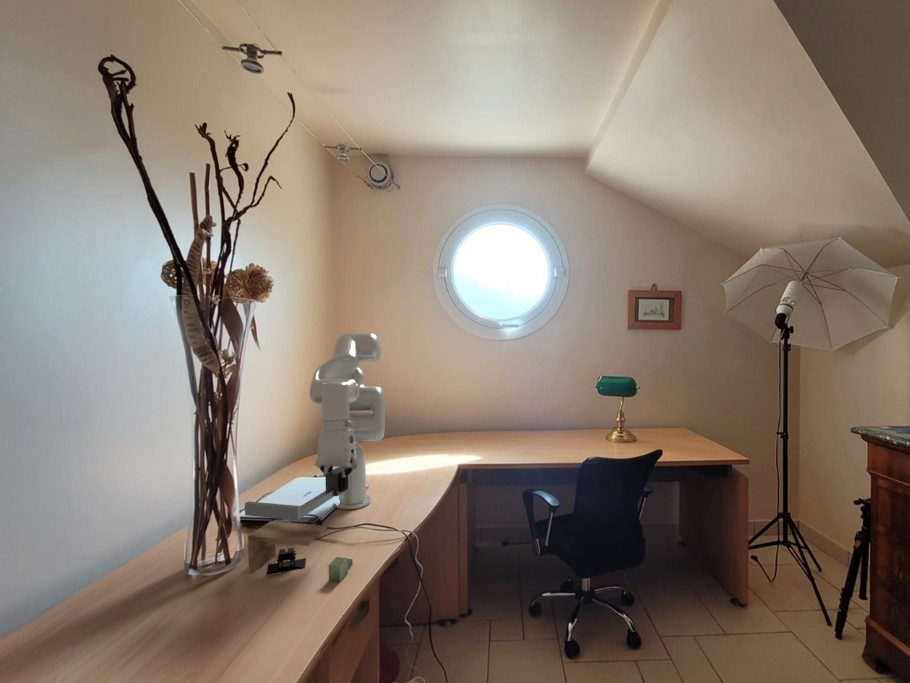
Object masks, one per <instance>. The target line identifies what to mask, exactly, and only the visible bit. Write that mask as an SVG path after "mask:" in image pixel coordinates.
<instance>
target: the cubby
mask: <svg viewBox="0 0 910 683" xmlns="http://www.w3.org/2000/svg"><path fill="white" fill-rule="evenodd" d="M327 530H328V525H320V524H309V523H298V522H289V521H277V520H270V521H269V522H267V523H265V524H264V525H262V526H261V527H259V528H258V529H256V530H255V531H253V532H251V533H250V534H248V535H247V546H248V548H247V549H248V550H247V551H248V574H255V573H256V572H257V571H258V570H259V569H261V568H262V567H264V566H265V565H266V564H267V563H268V562H270V561H271V560H273V559H274V557H276V544H278V543H279V544H287V545H296V546H297V545H298V546H307V547H309V546H310V545H311V544H312V543H314V542H315V541H316V540H317V539H318V538H319V537H321V536H322V535H324V533H325V532H326V531H327Z"/></svg>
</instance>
